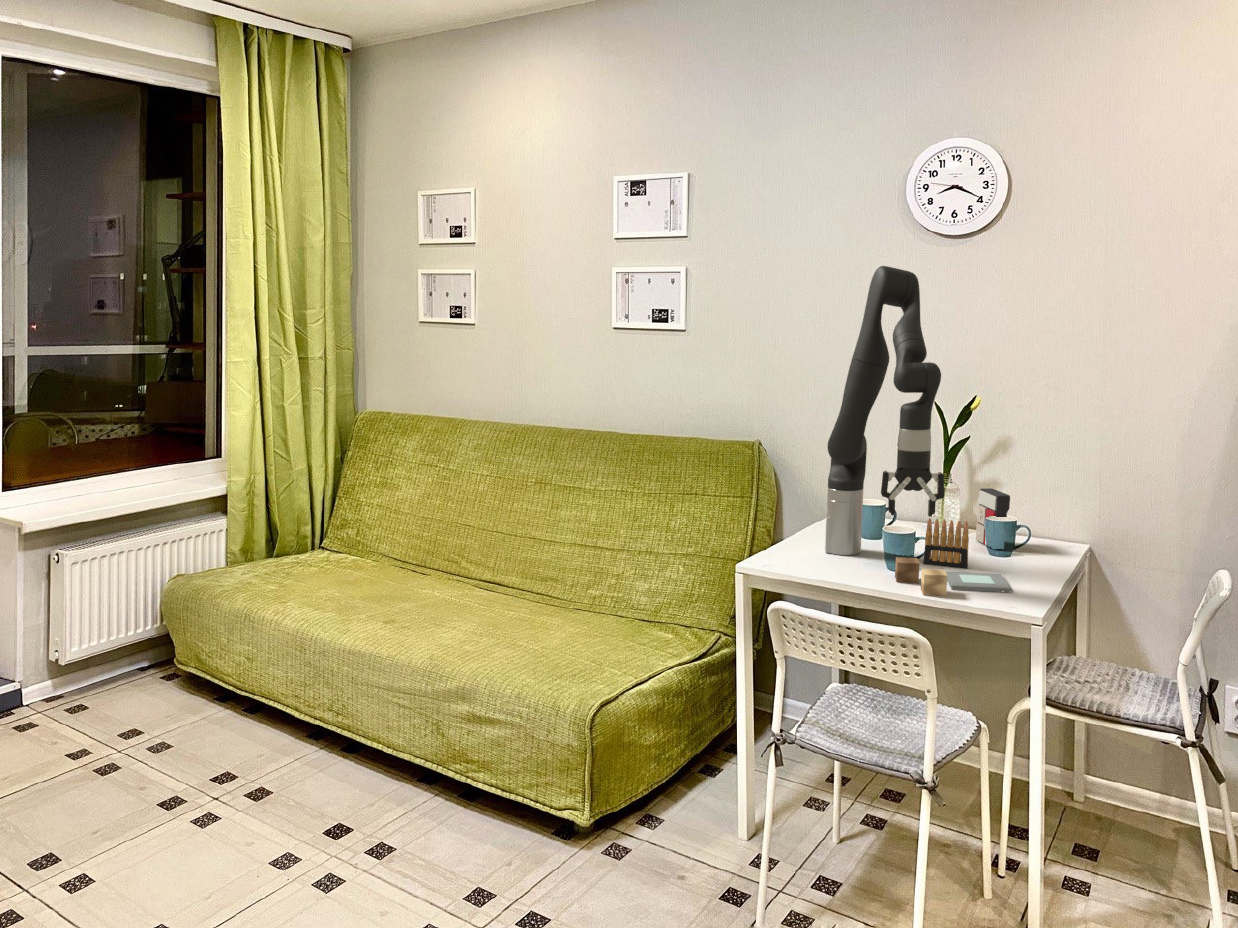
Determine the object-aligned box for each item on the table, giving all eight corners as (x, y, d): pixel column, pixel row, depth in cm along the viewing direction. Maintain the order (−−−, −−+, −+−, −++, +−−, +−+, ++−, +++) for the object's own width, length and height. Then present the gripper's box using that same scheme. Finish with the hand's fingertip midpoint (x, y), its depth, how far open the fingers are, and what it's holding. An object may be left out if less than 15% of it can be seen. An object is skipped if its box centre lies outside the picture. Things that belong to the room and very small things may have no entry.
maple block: (923, 595, 230) (924, 574, 229) (920, 589, 235) (921, 568, 234) (946, 596, 229) (947, 575, 228) (943, 590, 234) (944, 569, 233)
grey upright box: (974, 541, 283) (977, 488, 281) (988, 540, 283) (992, 488, 281) (991, 550, 272) (995, 495, 270) (1006, 550, 273) (1010, 495, 270)
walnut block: (896, 582, 241) (897, 562, 240) (894, 577, 245) (895, 557, 245) (918, 583, 240) (919, 563, 239) (916, 578, 245) (917, 558, 244)
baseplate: (951, 589, 235) (951, 585, 234) (944, 575, 247) (944, 570, 247) (1010, 592, 232) (1010, 587, 232) (1000, 577, 245) (1000, 573, 245)
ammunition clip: (968, 567, 255) (970, 520, 253) (967, 569, 253) (969, 522, 251) (924, 562, 259) (926, 516, 257) (923, 564, 258) (925, 518, 256)
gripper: (884, 449, 235) (881, 517, 238) (948, 450, 233) (944, 519, 235) (881, 445, 242) (879, 511, 245) (943, 446, 240) (940, 513, 243)
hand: (911, 515), depth 240 cm, fingers open, 8 cm apart
